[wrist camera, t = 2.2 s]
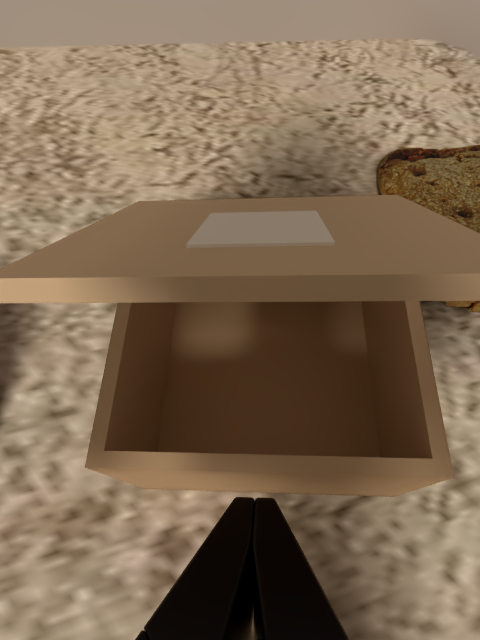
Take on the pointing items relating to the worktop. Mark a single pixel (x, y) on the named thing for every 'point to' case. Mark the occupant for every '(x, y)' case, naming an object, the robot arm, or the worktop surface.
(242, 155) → the worktop surface
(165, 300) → the lid flap
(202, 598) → the robot arm
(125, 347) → the carton
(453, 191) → the pastry
